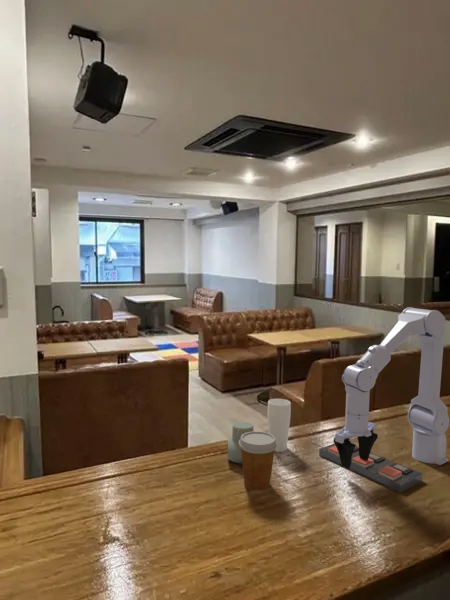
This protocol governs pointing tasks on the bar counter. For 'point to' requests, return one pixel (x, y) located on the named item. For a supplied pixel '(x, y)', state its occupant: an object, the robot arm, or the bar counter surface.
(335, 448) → the button
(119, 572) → the bar counter surface
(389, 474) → the button
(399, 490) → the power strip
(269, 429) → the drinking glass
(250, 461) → the disposable coffee cup
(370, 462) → the button
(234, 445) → the air freshener
